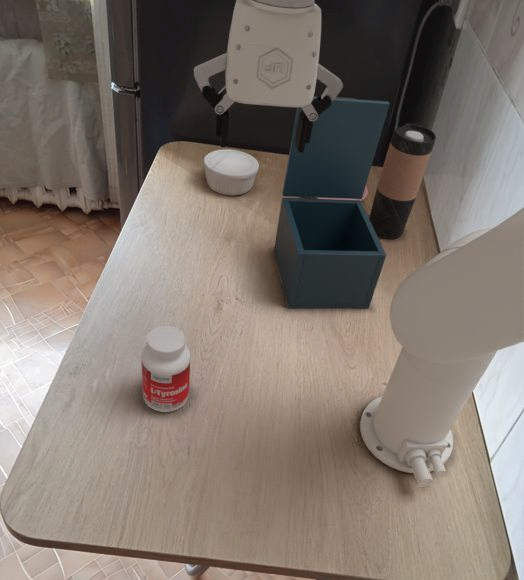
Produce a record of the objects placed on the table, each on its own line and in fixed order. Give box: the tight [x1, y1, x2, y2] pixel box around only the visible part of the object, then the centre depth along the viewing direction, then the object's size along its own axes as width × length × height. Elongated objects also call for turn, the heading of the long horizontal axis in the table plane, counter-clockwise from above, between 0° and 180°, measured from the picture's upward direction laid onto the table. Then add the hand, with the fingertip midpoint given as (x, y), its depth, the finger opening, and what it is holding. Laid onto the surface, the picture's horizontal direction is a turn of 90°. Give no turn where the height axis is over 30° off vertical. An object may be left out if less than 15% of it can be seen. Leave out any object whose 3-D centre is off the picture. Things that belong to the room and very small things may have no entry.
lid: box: [281, 96, 390, 199], centre depth 92 cm, size 17×14×5 cm
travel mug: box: [368, 123, 437, 240], centre depth 107 cm, size 8×8×20 cm
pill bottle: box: [141, 325, 192, 413], centre depth 73 cm, size 6×6×11 cm
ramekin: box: [203, 149, 260, 196], centre depth 117 cm, size 11×11×5 cm
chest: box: [273, 197, 387, 309], centre depth 96 cm, size 16×14×11 cm
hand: (261, 144), depth 71 cm, fingers open, 9 cm apart
